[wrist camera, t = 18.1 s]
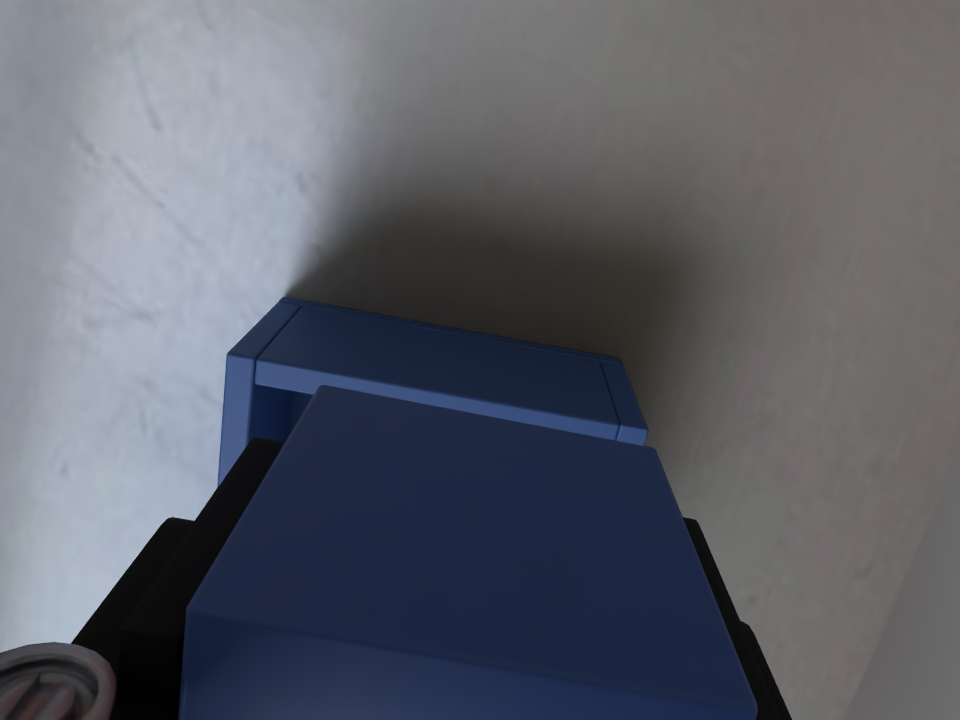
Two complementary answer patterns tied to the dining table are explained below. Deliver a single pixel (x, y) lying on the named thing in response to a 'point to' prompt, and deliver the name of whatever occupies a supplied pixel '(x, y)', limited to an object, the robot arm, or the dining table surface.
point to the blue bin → (414, 375)
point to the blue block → (457, 580)
